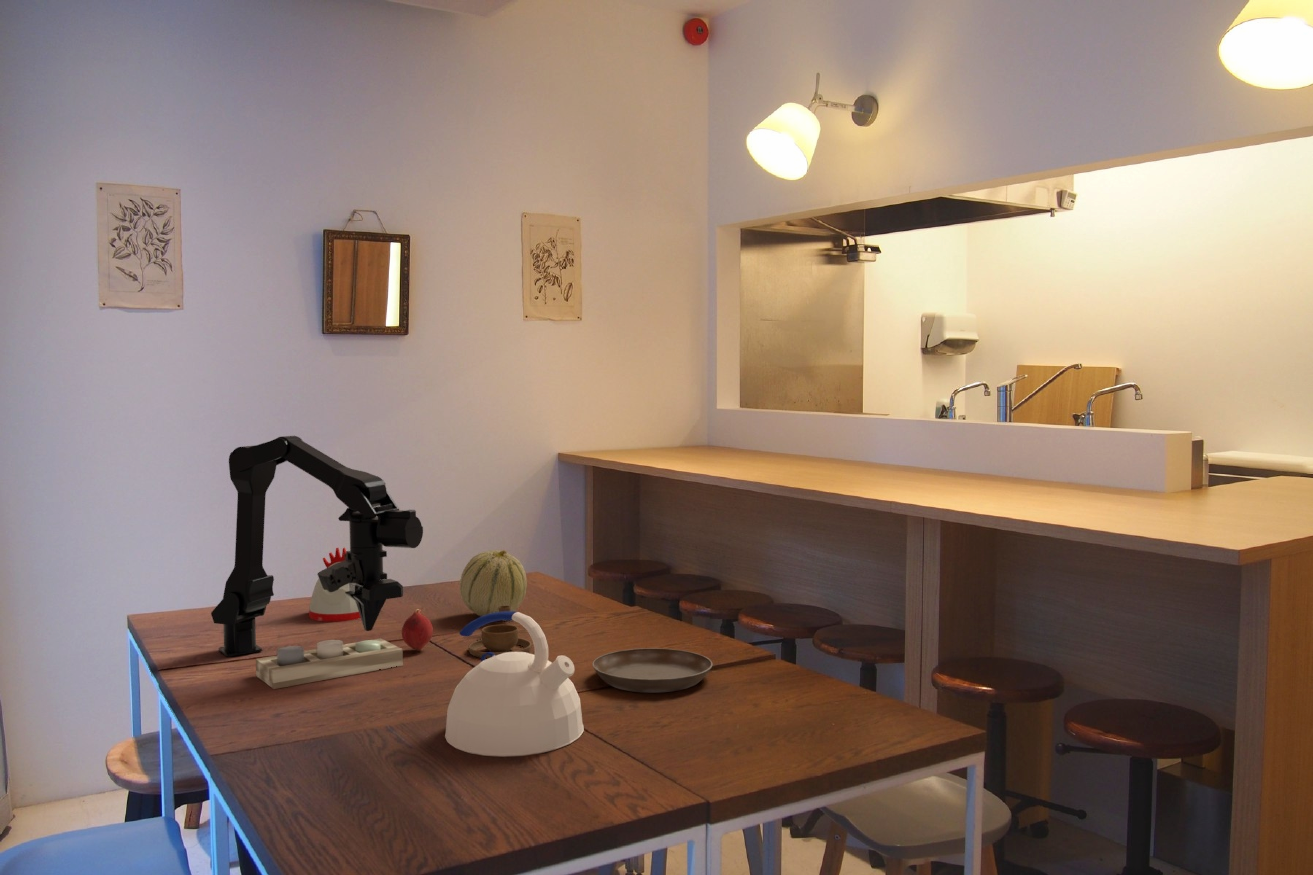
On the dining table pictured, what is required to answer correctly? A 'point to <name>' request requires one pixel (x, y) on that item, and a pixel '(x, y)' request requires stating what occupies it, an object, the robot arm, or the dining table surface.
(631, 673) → the plant saucer
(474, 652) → the place setting
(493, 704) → the kettle
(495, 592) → the cantaloupe
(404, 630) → the onion
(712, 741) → the dining table surface
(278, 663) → the button slate
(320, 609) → the kitchen timer
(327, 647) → the button cream
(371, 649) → the button sage
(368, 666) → the wooden compartment tray
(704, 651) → the dining table surface
